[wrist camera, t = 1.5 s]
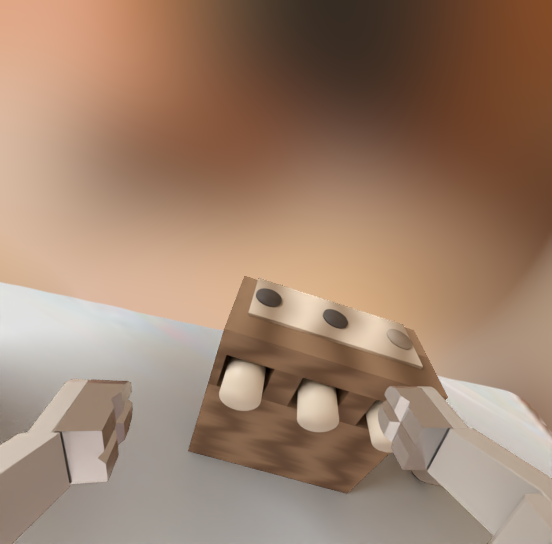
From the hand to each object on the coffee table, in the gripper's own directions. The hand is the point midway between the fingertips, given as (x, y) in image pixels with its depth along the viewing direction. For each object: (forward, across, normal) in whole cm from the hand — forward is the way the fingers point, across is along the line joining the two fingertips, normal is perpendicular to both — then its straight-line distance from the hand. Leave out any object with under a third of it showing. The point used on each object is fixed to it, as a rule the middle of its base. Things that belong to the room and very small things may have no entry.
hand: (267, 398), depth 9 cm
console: (+18, -6, +27) cm, 33 cm away
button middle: (+12, -7, +14) cm, 20 cm away
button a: (+13, -1, +13) cm, 19 cm away
